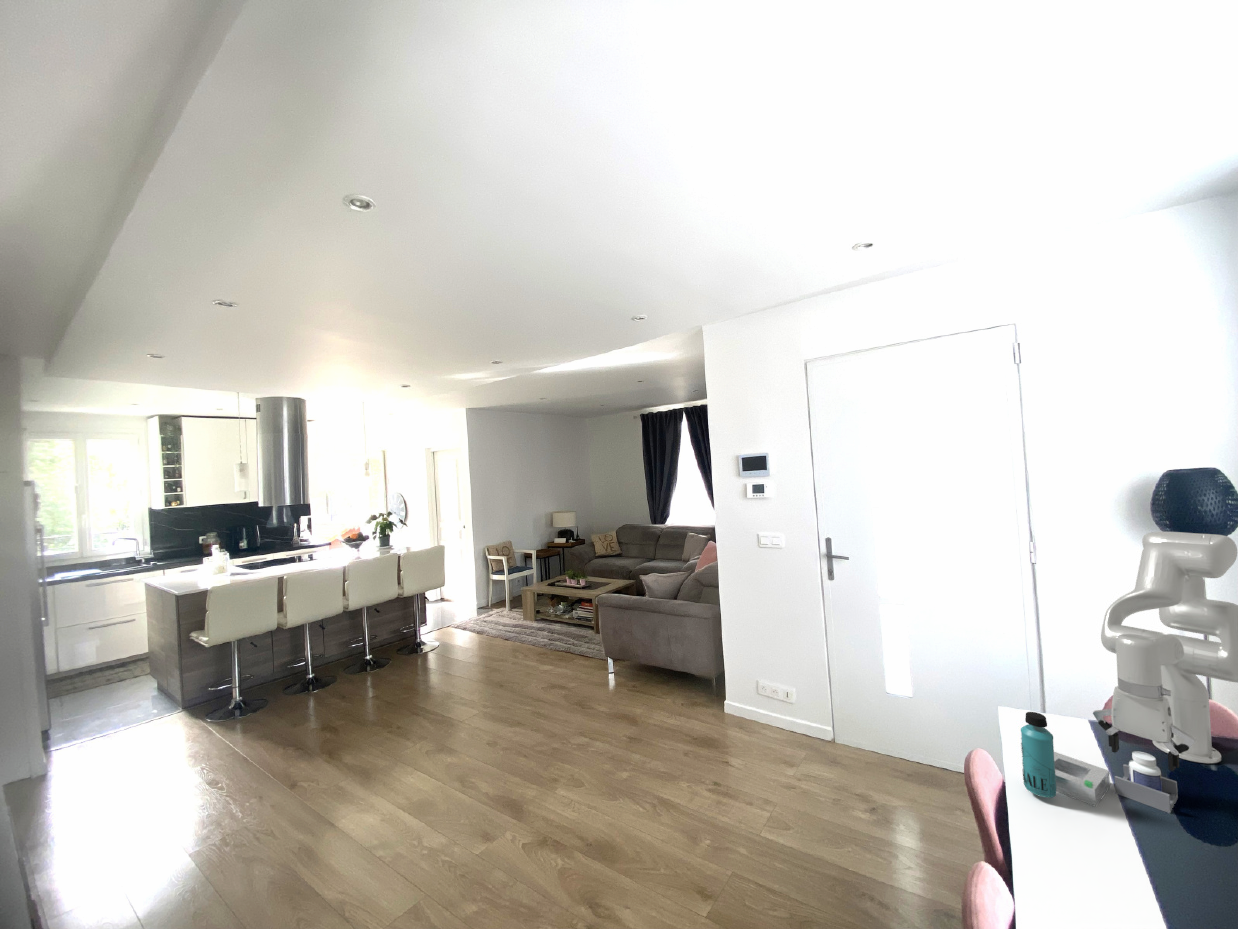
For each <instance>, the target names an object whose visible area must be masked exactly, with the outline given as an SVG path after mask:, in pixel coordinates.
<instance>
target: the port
mask: <svg viewBox="0 0 1238 929" xmlns="http://www.w3.org/2000/svg"><path fill="white" fill-rule="evenodd" d="M1054 765H1055V774H1056V776H1055V777H1056V793H1057V792H1058V793H1060V794H1062V795H1065V796H1068V797H1070V798H1072V799H1075V800H1077V801H1080V802H1081V803H1082V802H1083V803H1085V804H1088V805H1091V806H1092V807H1097V806H1098V804H1099V802H1100V801H1101V800H1102V799H1103V797H1104V796H1105V795H1106V793H1107V792H1106V791H1108V790H1109V789H1110V787H1111V782H1110V781H1111V780H1110V770H1108V769H1105V768H1103V767H1100V766H1097V765H1094V764H1091V763H1088V762H1085V761H1082V760H1079V759H1077V758H1074V757H1070V756H1068V755H1065V754H1063V753H1059V752H1057V751H1054ZM1101 798H1102V799H1101Z"/></svg>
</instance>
